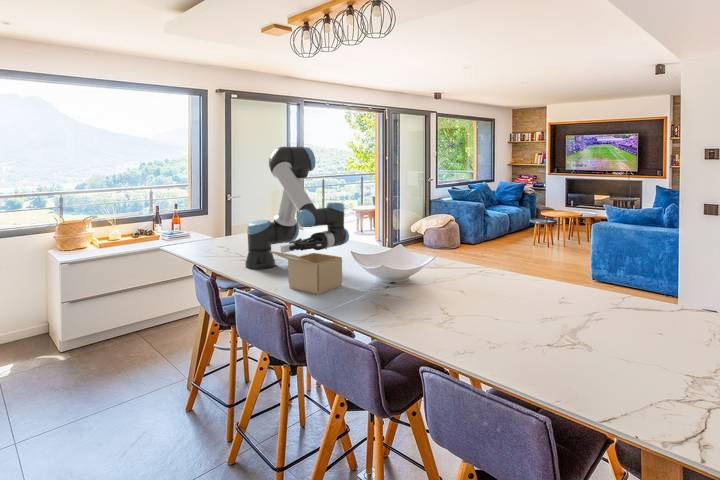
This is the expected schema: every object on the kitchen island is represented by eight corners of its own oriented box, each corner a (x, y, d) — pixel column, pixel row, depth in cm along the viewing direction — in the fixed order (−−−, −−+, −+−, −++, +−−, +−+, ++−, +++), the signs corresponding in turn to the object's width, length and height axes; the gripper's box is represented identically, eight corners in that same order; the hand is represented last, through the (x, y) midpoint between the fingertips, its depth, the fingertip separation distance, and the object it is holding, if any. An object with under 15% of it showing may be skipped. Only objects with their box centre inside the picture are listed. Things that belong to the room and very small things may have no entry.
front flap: (288, 259, 202) (269, 252, 192) (288, 258, 202) (269, 250, 192) (314, 264, 193) (295, 256, 184) (314, 263, 193) (295, 255, 184)
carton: (287, 287, 206) (287, 258, 203) (314, 279, 219) (313, 252, 217) (318, 295, 195) (318, 264, 193) (344, 285, 208) (344, 257, 206)
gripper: (333, 250, 203) (293, 260, 184) (310, 247, 211) (271, 256, 192) (333, 233, 202) (293, 241, 183) (310, 230, 209) (270, 238, 191)
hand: (281, 249), depth 188 cm, fingers closed
